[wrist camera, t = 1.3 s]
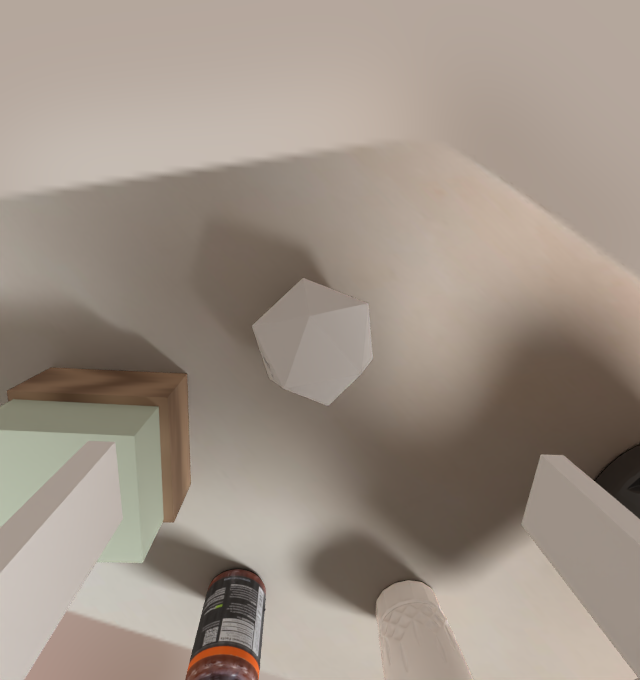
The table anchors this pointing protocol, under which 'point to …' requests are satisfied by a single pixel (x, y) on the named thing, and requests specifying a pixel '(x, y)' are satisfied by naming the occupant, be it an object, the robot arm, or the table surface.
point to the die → (315, 341)
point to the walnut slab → (129, 390)
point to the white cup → (417, 636)
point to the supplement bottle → (230, 629)
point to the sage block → (65, 440)
